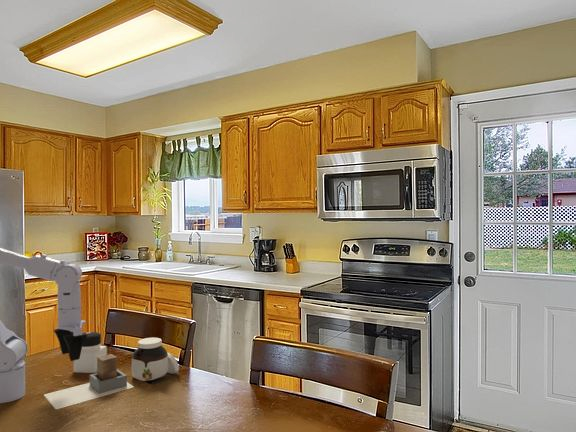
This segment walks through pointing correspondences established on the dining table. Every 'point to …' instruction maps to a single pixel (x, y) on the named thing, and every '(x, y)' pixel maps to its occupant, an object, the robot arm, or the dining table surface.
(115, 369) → the rail post
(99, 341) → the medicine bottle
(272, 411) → the dining table surface
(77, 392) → the board
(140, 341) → the spread jar
